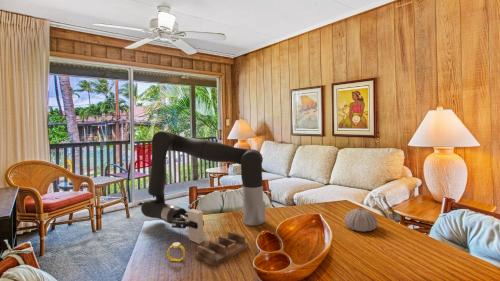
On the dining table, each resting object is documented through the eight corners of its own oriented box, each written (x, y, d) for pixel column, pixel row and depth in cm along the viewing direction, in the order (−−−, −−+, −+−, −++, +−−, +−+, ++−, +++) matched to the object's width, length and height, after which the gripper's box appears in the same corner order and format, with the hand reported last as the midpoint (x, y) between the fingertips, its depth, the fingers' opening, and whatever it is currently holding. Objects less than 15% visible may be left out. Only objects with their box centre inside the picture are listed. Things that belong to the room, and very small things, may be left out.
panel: (189, 239, 110) (187, 210, 109) (194, 237, 112) (192, 208, 111) (198, 243, 106) (197, 213, 105) (203, 241, 108) (202, 211, 107)
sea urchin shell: (343, 231, 114) (343, 212, 114) (345, 220, 127) (345, 203, 126) (378, 236, 109) (378, 216, 109) (376, 223, 122) (377, 206, 121)
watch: (166, 263, 93) (165, 246, 92) (168, 258, 96) (168, 242, 95) (184, 262, 93) (183, 245, 92) (186, 258, 96) (185, 241, 95)
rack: (195, 257, 96) (194, 246, 96) (229, 239, 109) (228, 230, 109) (214, 266, 90) (214, 255, 89) (248, 247, 103) (248, 236, 102)
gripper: (159, 211, 112) (185, 221, 101) (187, 202, 123) (213, 210, 111) (160, 229, 113) (186, 240, 102) (187, 218, 123) (214, 228, 112)
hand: (200, 224), depth 107 cm, fingers closed on panel, 2 cm apart
